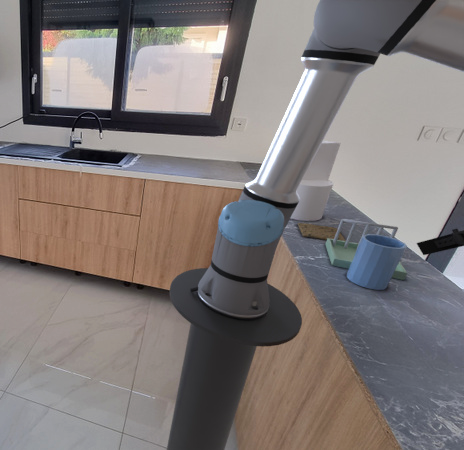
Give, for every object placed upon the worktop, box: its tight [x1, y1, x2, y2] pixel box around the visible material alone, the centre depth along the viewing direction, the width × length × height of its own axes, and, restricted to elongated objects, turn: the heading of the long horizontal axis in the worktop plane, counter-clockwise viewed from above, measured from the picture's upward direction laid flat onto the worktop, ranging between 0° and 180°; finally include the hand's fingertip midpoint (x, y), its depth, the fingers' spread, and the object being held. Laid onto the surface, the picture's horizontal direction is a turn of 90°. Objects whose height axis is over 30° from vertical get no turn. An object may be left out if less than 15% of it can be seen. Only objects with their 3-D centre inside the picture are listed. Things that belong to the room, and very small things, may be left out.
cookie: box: [297, 222, 347, 241], centre depth 109 cm, size 12×12×1 cm
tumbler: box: [346, 233, 408, 291], centre depth 80 cm, size 8×8×12 cm
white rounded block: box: [289, 140, 341, 222], centre depth 122 cm, size 17×17×28 cm
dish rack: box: [324, 218, 408, 281], centre depth 90 cm, size 15×15×10 cm
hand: (444, 245), depth 67 cm, fingers open, 13 cm apart
